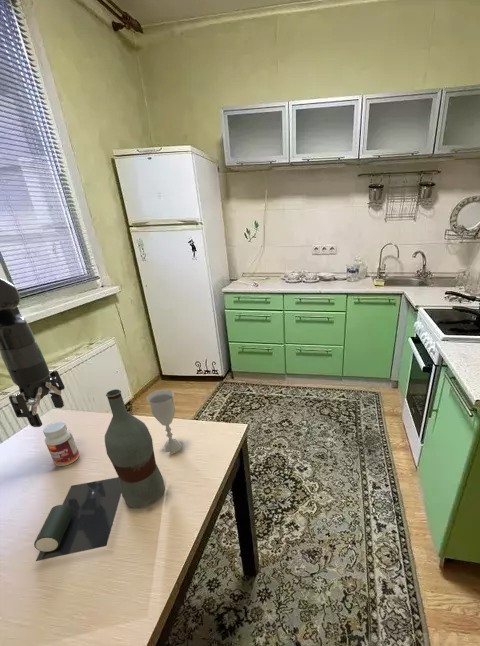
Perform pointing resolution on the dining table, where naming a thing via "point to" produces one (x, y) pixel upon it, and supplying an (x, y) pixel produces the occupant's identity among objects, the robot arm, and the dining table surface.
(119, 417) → the vodka
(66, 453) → the pill bottle
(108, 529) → the slate board
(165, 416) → the chalice
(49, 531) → the sushi roll
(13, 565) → the dining table surface
